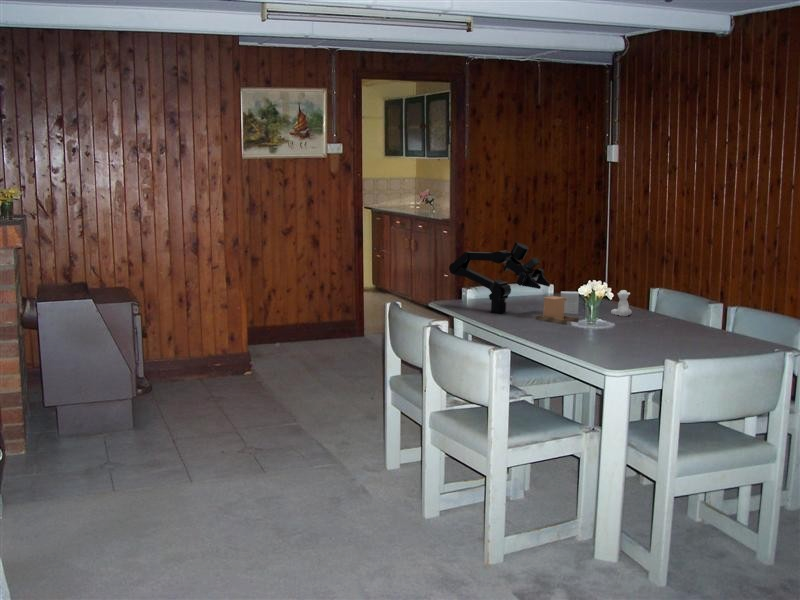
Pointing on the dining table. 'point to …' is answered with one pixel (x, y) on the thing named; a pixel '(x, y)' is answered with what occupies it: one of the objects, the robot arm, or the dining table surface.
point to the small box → (570, 302)
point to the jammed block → (554, 307)
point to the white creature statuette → (622, 304)
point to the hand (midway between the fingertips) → (545, 286)
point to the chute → (555, 320)
